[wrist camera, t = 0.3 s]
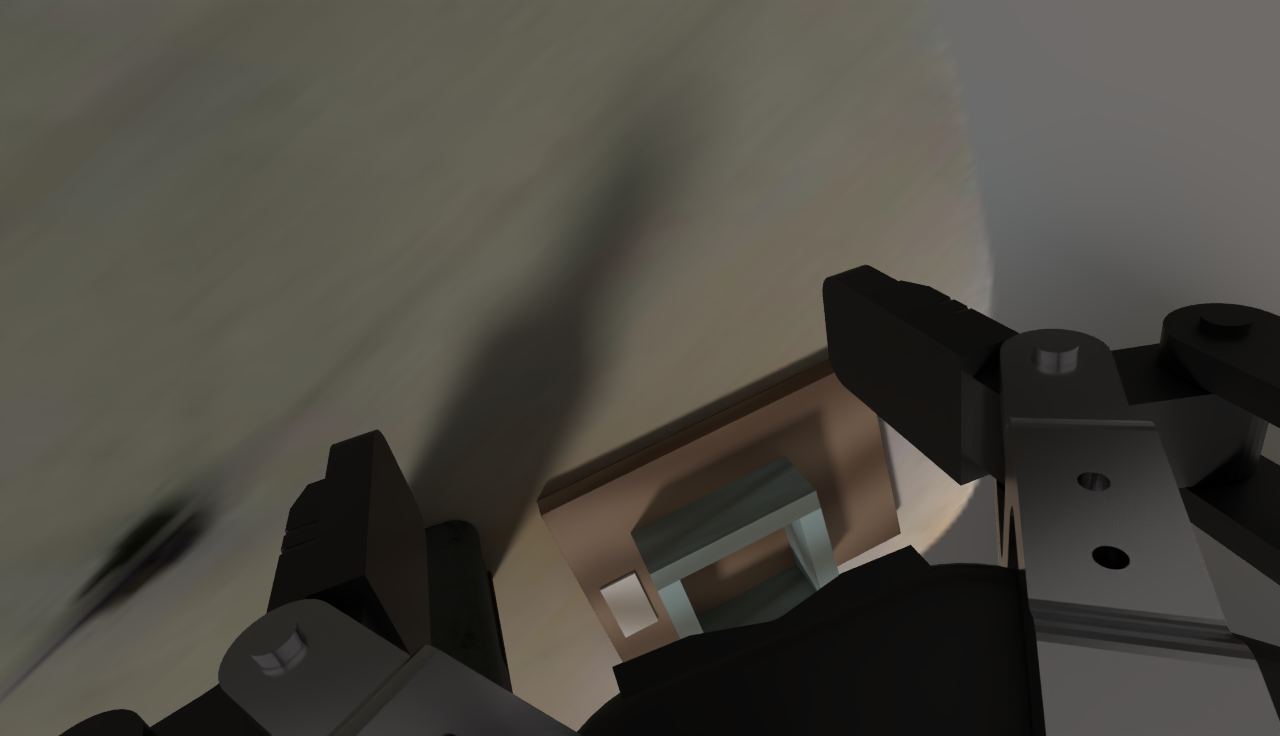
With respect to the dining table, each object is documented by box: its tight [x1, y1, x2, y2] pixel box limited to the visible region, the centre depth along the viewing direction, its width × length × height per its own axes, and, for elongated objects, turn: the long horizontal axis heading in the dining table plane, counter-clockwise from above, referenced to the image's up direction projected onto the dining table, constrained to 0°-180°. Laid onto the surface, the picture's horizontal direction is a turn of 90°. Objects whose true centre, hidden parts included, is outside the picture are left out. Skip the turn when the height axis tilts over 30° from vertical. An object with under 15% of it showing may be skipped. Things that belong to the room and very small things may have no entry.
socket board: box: [537, 359, 901, 662], centre depth 38 cm, size 13×18×4 cm
